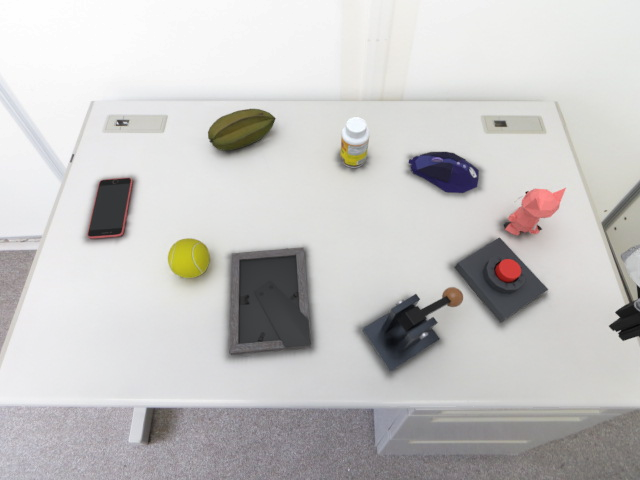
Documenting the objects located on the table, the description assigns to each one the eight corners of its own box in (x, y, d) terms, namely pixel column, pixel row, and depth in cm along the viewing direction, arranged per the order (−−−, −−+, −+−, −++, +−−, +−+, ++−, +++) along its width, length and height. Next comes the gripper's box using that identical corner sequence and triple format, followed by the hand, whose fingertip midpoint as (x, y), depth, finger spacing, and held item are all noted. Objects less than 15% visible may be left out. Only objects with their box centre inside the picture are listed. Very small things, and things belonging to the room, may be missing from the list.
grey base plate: (542, 293, 67) (554, 285, 63) (499, 322, 64) (510, 315, 61) (494, 242, 72) (503, 232, 68) (454, 267, 69) (460, 258, 66)
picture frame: (310, 347, 63) (303, 251, 71) (310, 344, 61) (303, 246, 69) (231, 354, 62) (233, 256, 71) (228, 352, 61) (231, 252, 69)
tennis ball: (172, 283, 69) (157, 268, 62) (179, 249, 72) (166, 231, 66) (211, 283, 68) (199, 268, 62) (216, 249, 72) (206, 231, 65)
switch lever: (446, 291, 63) (457, 280, 61) (459, 306, 62) (471, 297, 60) (393, 318, 56) (404, 307, 53) (406, 336, 54) (418, 326, 52)
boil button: (521, 275, 64) (525, 272, 63) (505, 286, 64) (509, 282, 62) (506, 259, 66) (510, 255, 64) (490, 269, 65) (494, 265, 64)
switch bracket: (409, 301, 66) (425, 276, 56) (438, 340, 63) (460, 321, 53) (362, 330, 64) (369, 309, 54) (389, 372, 61) (402, 359, 50)
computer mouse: (476, 198, 76) (484, 186, 73) (403, 183, 78) (407, 171, 75) (479, 163, 80) (487, 150, 77) (410, 149, 82) (414, 137, 79)
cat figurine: (523, 208, 75) (556, 171, 64) (544, 237, 72) (582, 202, 61) (492, 219, 74) (520, 182, 63) (512, 248, 71) (545, 215, 60)
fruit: (232, 116, 88) (225, 93, 82) (279, 130, 86) (275, 107, 80) (208, 152, 83) (199, 130, 77) (257, 167, 81) (251, 146, 75)
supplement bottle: (342, 147, 83) (344, 111, 74) (367, 151, 82) (372, 115, 73) (338, 167, 80) (339, 132, 71) (363, 171, 80) (368, 137, 71)
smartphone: (132, 176, 79) (122, 235, 73) (134, 178, 80) (123, 236, 73) (99, 179, 79) (85, 238, 72) (100, 181, 79) (87, 239, 73)
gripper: (700, 158, 21) (536, 280, 37) (1051, 413, 15) (671, 425, 31) (779, 107, 23) (589, 245, 39) (1122, 316, 16) (726, 376, 33)
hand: (625, 325), depth 35 cm, fingers closed
